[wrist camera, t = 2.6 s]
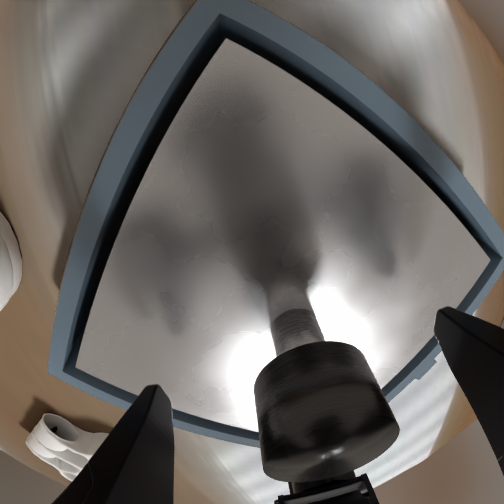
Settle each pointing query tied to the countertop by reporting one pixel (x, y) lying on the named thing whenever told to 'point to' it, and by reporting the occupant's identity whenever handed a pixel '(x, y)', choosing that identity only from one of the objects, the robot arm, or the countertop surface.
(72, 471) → the white muffin tray
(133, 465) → the robot arm
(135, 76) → the countertop surface
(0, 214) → the bottle
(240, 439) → the blue grey open box
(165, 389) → the lid with knob
